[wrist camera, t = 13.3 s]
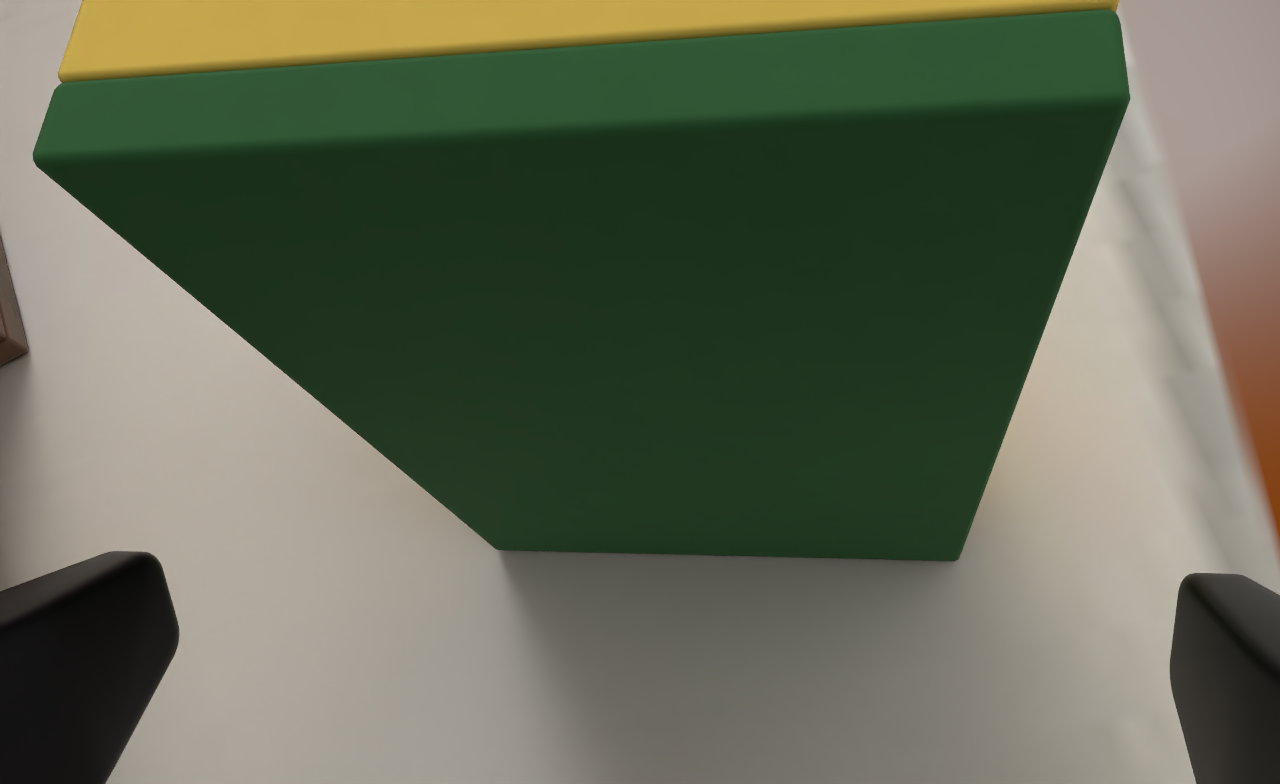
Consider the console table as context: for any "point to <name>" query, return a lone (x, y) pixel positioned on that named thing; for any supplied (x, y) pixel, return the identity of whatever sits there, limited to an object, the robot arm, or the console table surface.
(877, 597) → the console table surface
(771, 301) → the sponge
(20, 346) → the cabinet
